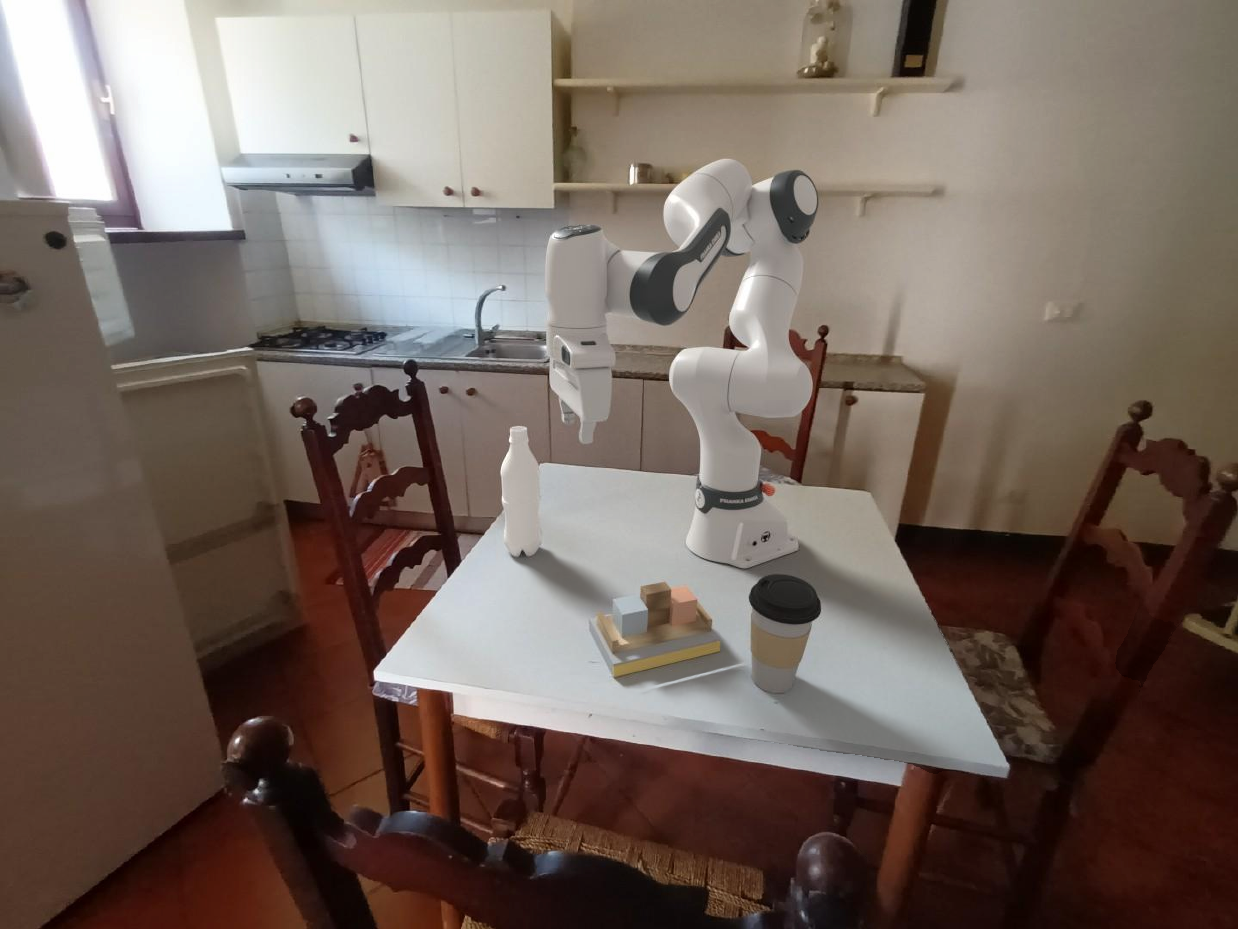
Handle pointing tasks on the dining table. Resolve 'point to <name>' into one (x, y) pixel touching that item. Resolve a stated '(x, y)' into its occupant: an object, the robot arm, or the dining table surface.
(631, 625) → the block
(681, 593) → the block
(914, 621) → the dining table surface
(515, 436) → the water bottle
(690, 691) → the dining table surface
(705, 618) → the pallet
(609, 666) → the dock
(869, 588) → the dining table surface
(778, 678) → the coffee cup
